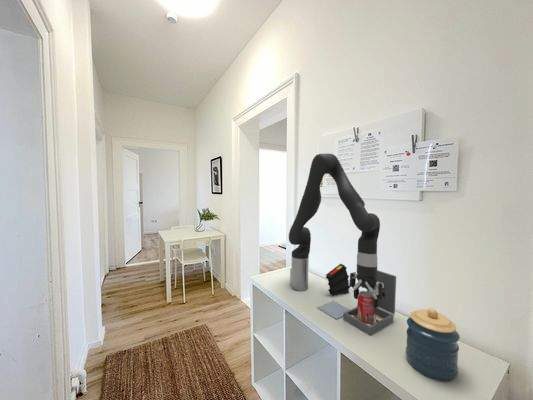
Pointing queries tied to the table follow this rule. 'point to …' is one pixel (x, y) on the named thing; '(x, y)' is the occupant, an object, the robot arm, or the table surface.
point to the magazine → (338, 280)
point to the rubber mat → (333, 309)
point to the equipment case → (383, 311)
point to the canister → (432, 344)
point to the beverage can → (365, 307)
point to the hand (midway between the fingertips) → (366, 302)
